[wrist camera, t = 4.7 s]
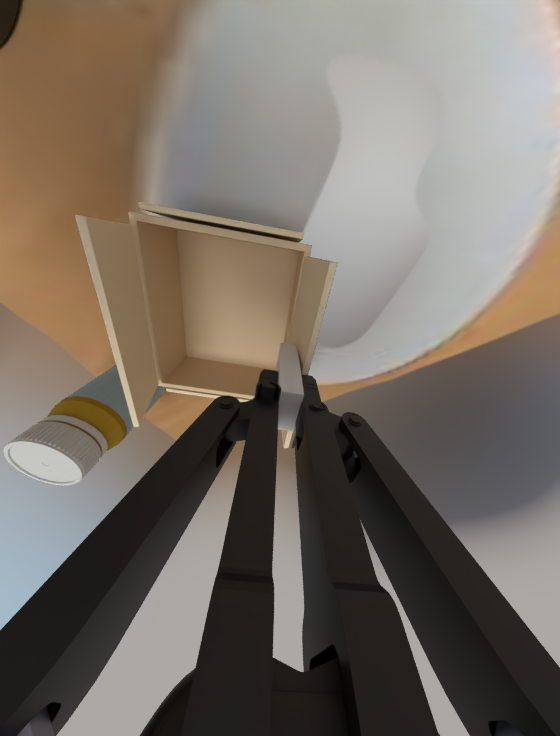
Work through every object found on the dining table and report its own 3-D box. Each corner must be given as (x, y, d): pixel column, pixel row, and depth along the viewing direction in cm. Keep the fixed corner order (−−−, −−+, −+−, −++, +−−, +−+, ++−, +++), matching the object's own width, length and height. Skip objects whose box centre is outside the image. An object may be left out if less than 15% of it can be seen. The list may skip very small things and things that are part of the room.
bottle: (173, 364, 30) (85, 452, 17) (166, 399, 33) (88, 495, 20) (123, 346, 29) (-14, 426, 16) (121, 384, 32) (7, 476, 19)
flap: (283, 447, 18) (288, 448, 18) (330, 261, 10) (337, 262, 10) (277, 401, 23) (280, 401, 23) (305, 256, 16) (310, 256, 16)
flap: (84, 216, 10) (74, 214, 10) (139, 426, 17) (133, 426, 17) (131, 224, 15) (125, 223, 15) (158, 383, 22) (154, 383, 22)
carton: (172, 214, 21) (125, 199, 15) (306, 239, 22) (314, 234, 16) (185, 362, 29) (158, 390, 23) (280, 376, 30) (279, 407, 24)
